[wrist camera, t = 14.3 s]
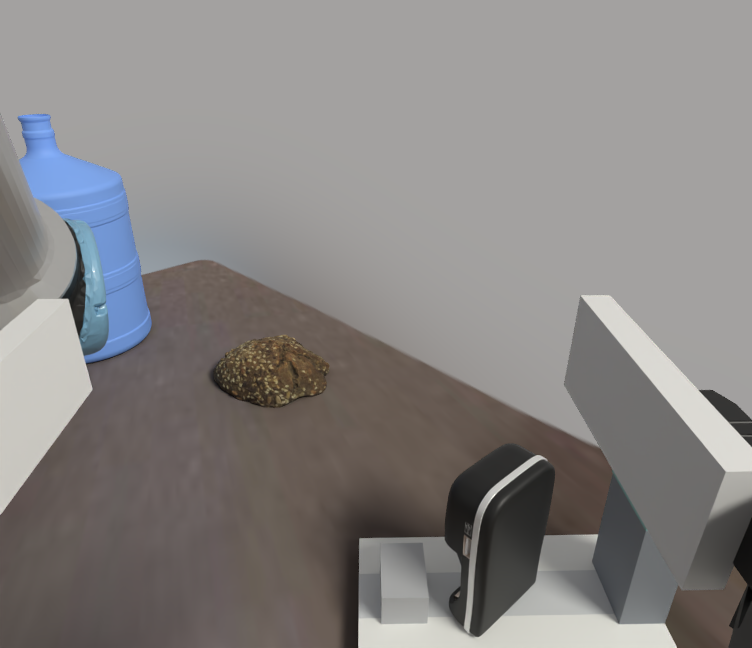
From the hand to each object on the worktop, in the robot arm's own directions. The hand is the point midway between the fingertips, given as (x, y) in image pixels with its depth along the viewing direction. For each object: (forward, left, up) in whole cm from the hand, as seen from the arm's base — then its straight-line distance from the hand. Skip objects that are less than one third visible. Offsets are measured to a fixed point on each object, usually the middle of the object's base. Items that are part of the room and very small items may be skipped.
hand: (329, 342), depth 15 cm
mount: (-14, +10, -29) cm, 33 cm away
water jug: (-55, -36, -29) cm, 71 cm away
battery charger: (-13, +9, -27) cm, 32 cm away
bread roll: (-44, -10, -29) cm, 54 cm away
